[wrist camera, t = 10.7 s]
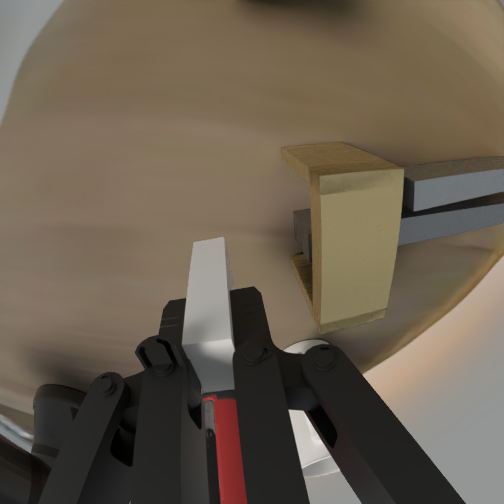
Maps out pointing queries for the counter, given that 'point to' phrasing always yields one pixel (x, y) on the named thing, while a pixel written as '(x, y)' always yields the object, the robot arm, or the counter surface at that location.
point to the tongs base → (424, 221)
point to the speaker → (223, 449)
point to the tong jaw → (451, 181)
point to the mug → (309, 431)
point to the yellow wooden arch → (348, 232)
